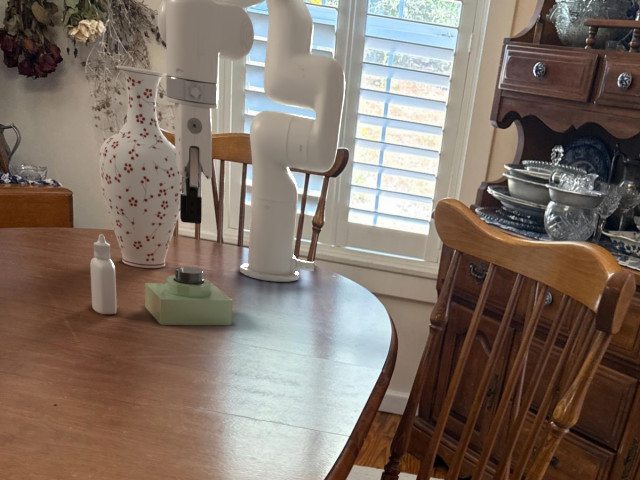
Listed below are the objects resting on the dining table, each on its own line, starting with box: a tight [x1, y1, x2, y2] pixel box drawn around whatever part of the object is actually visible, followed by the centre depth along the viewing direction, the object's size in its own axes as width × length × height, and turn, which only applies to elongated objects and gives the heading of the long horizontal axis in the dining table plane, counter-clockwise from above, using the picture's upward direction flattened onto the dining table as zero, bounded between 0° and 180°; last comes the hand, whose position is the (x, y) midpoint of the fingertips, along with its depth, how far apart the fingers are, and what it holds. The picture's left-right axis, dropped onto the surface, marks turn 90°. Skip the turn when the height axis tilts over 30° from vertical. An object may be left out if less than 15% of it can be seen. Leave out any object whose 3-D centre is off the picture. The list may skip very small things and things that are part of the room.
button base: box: [144, 274, 234, 326], centre depth 131 cm, size 12×10×6 cm
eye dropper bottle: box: [89, 233, 117, 315], centre depth 125 cm, size 4×6×12 cm
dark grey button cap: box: [174, 266, 204, 285], centre depth 129 cm, size 4×4×2 cm
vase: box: [98, 65, 182, 269], centre depth 151 cm, size 16×16×35 cm
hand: (190, 221), depth 125 cm, fingers closed
